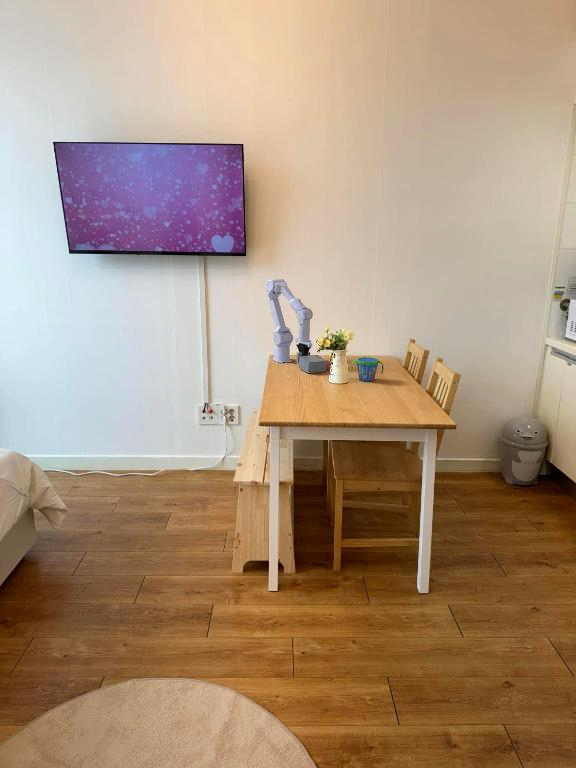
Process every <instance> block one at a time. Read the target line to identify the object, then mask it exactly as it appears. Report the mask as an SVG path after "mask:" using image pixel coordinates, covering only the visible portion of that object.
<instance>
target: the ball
mask: <svg viewBox="0 0 576 768" xmlns="http://www.w3.org/2000/svg"><path fill="white" fill-rule="evenodd" d="M326 360H327V366H326V371H327V369H328V370H329V369H330V368H331V366H330V364H331V362H330V360H328V359H326Z"/></svg>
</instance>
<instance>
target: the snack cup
mask: <svg viewBox="0 0 576 768" xmlns="http://www.w3.org/2000/svg"><path fill="white" fill-rule="evenodd" d="M355 363H356V366H357V374H358V380H359V381H362V382H374V381H375V378H376V375H377V374H376V373H377V369H378V366H379V364H380V365H381V374H382V375H383V374H384V364H383V362H382V361H381V360H380V359H378V358H375V357H370V356H369V357H367V356H365V357H364V356H362V357H358V358H356V359H355V360H353V361H352V363H351V364H350V365H351V366H350V372H351V374H352V373H353V365H354V364H355Z"/></svg>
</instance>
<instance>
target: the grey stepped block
mask: <svg viewBox="0 0 576 768" xmlns="http://www.w3.org/2000/svg"><path fill="white" fill-rule="evenodd" d="M327 360H328V359H325V358H323V357H322V356H321V355H318V354H314V355H311V352H310V351H309V352H308V356H302V352H299V351H298V352H296V360H295V363H296V365H298V368H299V369H300V370H302V372H304V373H306V372H307V373H306V374H308V373H311V374H317V373H316V372H321V373H326V372H327V370H326V366H327Z"/></svg>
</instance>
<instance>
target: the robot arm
mask: <svg viewBox="0 0 576 768" xmlns="http://www.w3.org/2000/svg"><path fill="white" fill-rule="evenodd" d="M264 287H265V291H266V295H267V296H266V298H267V301H268V305H269V309H270V314H271V316H272V320H273V323H274V326H275V329H274V330H273V332H272V334H273V336H272V337H273V338H272V339H273V343H274V347H273V358H271V359H272V361H275V362H277V363H278V362H279V364H282V363H283V362H285V363H293V362H292V361H293V360H292V359H290V357H291V356H290V355H291V354H290V352H291V349H290V348H291V344H292V343H293V341H294V336H293V333H292V331H291V329H290V328H289V327H288V326H287V325H286V323H285V319H284V315H283V312H282V308H281V305H280V301H279V297H280V296H281V295H283V296H284V297H285V298H286V300H288V302H289V306H290V307H291V308H292V310H293V311H294V312H295V314H296V318H297V323H298V338H297V337H296V338H295V342H296V343H297V344H296V348H297V350H298V352H302V356H308V352H310V351H311V349H312V348H313V343H312V340H310V338H311V337H310V334H311V333H310V332H311V331H310V330H311V320H312V319H313V311H312V309H311V308H309V307H307V306H306V305H304V303H303V302H302V300H301V298H297V297H295V295H294V294H293V293H292V291H291V290H290V287H288V282H287V281H286V280H285V279H284V278H275V279H274V278H273V279H268V280H267V281H266V283H265V286H264ZM283 364H284V363H283Z"/></svg>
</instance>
